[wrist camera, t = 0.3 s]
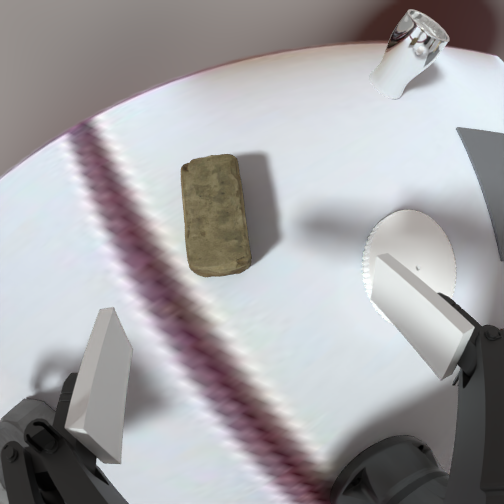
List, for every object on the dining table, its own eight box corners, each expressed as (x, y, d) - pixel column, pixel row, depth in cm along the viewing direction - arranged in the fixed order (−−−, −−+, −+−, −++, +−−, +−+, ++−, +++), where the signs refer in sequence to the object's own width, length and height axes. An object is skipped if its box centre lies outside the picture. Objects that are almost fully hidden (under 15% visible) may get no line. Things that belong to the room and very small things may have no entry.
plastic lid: (435, 334, 31) (448, 335, 28) (347, 317, 30) (357, 318, 28) (447, 233, 33) (458, 229, 31) (366, 200, 33) (375, 193, 30)
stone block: (234, 170, 31) (237, 148, 27) (250, 273, 30) (256, 267, 25) (183, 177, 31) (177, 156, 26) (194, 281, 29) (189, 277, 24)
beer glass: (400, 79, 37) (442, 24, 23) (405, 107, 36) (456, 50, 21) (364, 65, 37) (401, 2, 22) (367, 92, 36) (412, 25, 21)
